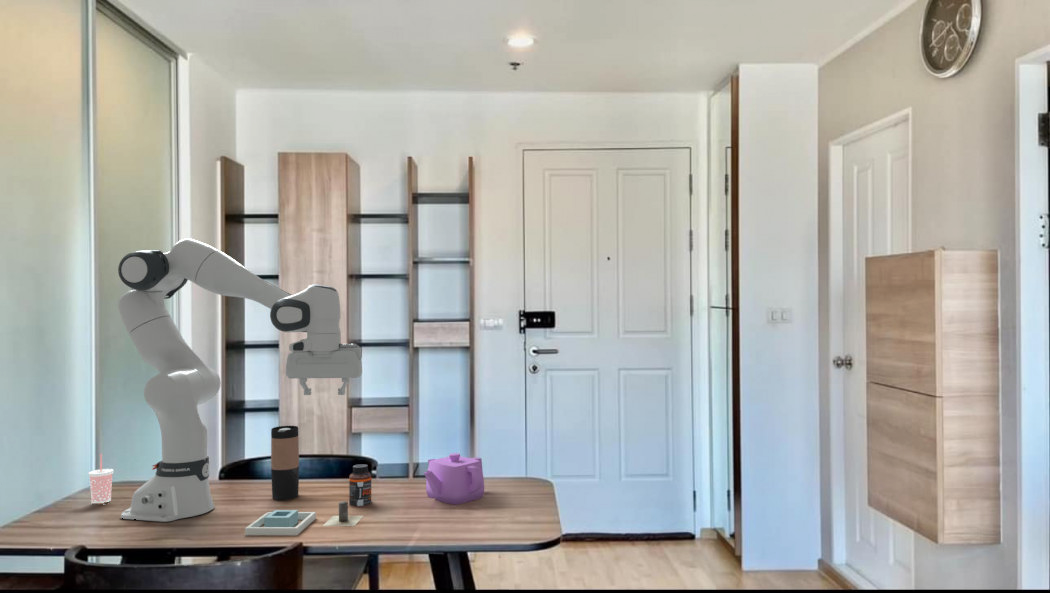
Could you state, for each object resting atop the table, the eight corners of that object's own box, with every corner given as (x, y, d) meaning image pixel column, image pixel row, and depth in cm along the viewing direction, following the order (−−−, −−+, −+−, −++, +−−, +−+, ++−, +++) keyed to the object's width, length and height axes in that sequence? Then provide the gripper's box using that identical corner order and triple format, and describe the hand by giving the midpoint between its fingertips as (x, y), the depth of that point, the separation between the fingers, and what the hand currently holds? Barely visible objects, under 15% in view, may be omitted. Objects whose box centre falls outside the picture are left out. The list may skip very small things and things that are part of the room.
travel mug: (290, 491, 202) (289, 424, 202) (304, 496, 197) (303, 427, 197) (266, 497, 196) (265, 428, 196) (280, 502, 191) (280, 431, 192)
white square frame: (245, 539, 161) (244, 528, 161) (267, 522, 173) (267, 512, 173) (297, 539, 160) (297, 528, 160) (315, 522, 173) (315, 512, 173)
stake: (322, 529, 167) (322, 507, 167) (333, 519, 175) (332, 498, 175) (354, 529, 166) (354, 507, 166) (363, 519, 174) (363, 498, 174)
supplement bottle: (365, 510, 182) (365, 468, 182) (345, 509, 183) (345, 467, 183) (375, 504, 188) (374, 463, 188) (355, 503, 189) (354, 462, 189)
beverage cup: (87, 502, 193) (87, 453, 194) (112, 498, 197) (112, 450, 197) (89, 507, 189) (89, 457, 189) (115, 503, 192) (114, 453, 192)
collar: (264, 532, 164) (264, 517, 164) (276, 522, 171) (276, 508, 171) (288, 532, 164) (288, 517, 164) (300, 522, 171) (300, 508, 171)
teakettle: (484, 504, 186) (483, 459, 187) (422, 506, 186) (421, 461, 186) (485, 488, 204) (484, 447, 204) (428, 489, 203) (427, 448, 203)
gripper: (364, 342, 187) (365, 392, 187) (292, 343, 188) (292, 393, 188) (358, 344, 181) (358, 395, 181) (283, 345, 182) (283, 396, 182)
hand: (324, 394), depth 184 cm, fingers open, 8 cm apart
